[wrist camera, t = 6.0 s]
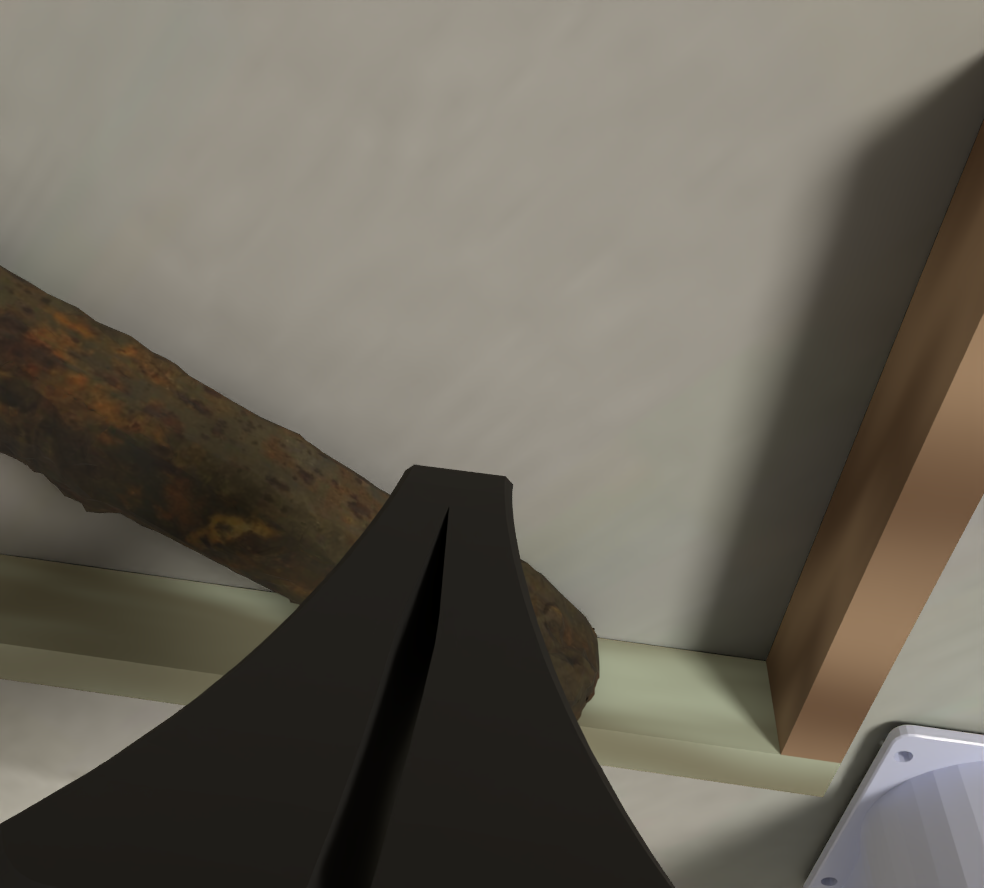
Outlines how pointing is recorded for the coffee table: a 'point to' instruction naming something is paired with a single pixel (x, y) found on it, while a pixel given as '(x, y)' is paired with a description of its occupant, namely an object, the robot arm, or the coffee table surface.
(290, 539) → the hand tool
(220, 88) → the coffee table surface
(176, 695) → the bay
